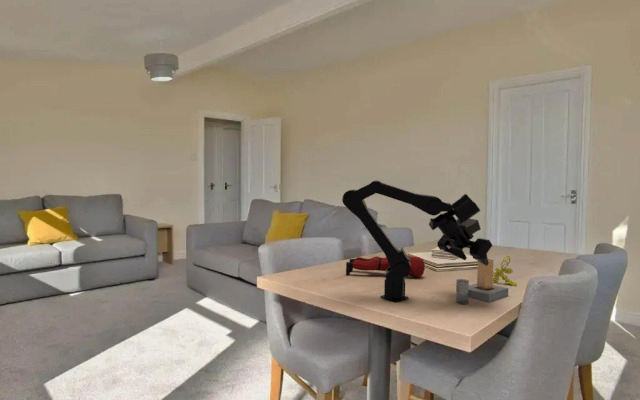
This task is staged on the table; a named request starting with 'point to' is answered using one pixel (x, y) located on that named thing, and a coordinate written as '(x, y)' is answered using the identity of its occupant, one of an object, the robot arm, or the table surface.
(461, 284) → the round bit
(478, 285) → the square bit
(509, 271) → the decorative insect
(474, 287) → the socket plate
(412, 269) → the toy
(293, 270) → the table surface
